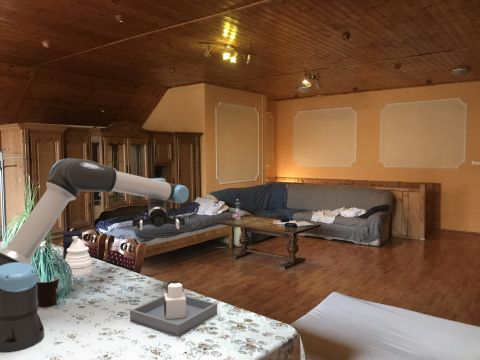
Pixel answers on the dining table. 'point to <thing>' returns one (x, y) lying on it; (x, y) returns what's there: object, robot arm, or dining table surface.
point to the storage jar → (69, 240)
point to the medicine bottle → (174, 301)
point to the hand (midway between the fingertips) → (159, 226)
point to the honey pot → (78, 258)
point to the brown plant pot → (47, 292)
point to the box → (156, 320)
